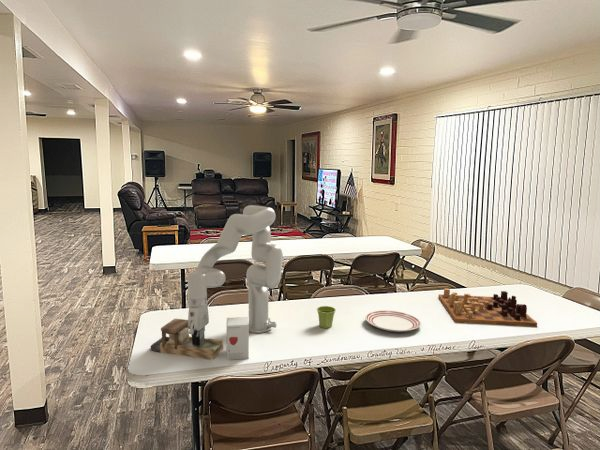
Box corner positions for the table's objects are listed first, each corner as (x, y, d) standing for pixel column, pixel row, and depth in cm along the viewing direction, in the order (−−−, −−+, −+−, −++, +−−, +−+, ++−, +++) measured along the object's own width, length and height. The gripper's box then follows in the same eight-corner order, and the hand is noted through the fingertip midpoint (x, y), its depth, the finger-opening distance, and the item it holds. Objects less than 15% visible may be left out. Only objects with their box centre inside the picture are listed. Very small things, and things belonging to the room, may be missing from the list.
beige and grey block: (205, 343, 183) (205, 326, 182) (198, 349, 177) (198, 331, 176) (176, 339, 186) (176, 323, 185) (169, 345, 181) (168, 328, 180)
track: (223, 348, 184) (223, 324, 183) (212, 360, 174) (211, 334, 172) (164, 341, 191) (163, 317, 189) (150, 351, 180) (149, 326, 179)
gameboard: (438, 298, 259) (439, 283, 257) (507, 301, 255) (508, 286, 253) (455, 323, 219) (456, 306, 218) (536, 327, 215) (538, 310, 214)
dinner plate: (397, 312, 233) (397, 306, 232) (432, 330, 208) (433, 324, 208) (354, 319, 221) (354, 313, 220) (386, 340, 196) (387, 333, 196)
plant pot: (337, 324, 214) (338, 307, 212) (331, 331, 205) (331, 313, 204) (320, 321, 218) (321, 304, 216) (313, 327, 209) (313, 310, 208)
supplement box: (226, 360, 174) (226, 325, 172) (226, 350, 183) (226, 317, 180) (249, 359, 176) (249, 324, 173) (248, 349, 184) (247, 316, 182)
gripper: (196, 308, 169) (197, 352, 172) (214, 295, 185) (215, 336, 188) (179, 306, 171) (180, 350, 174) (198, 294, 187) (199, 334, 189)
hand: (198, 342), depth 181 cm, fingers closed on beige and grey block, 3 cm apart
